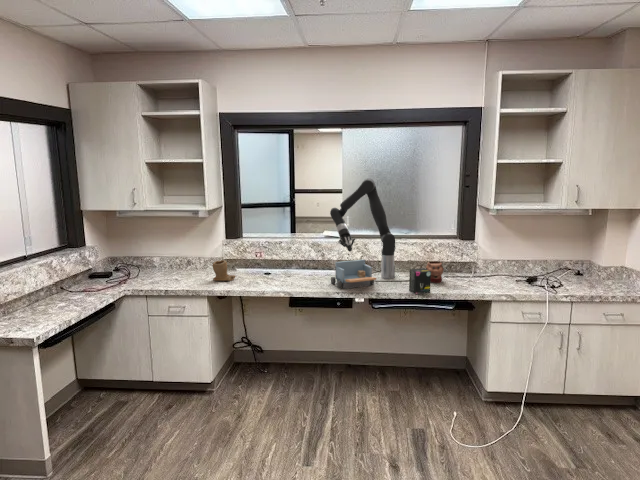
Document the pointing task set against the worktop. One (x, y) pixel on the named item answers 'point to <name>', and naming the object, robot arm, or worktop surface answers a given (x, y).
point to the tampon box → (420, 281)
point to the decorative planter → (435, 271)
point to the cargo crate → (361, 273)
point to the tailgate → (360, 279)
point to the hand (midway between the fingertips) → (350, 250)
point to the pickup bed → (351, 273)
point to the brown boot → (222, 271)
